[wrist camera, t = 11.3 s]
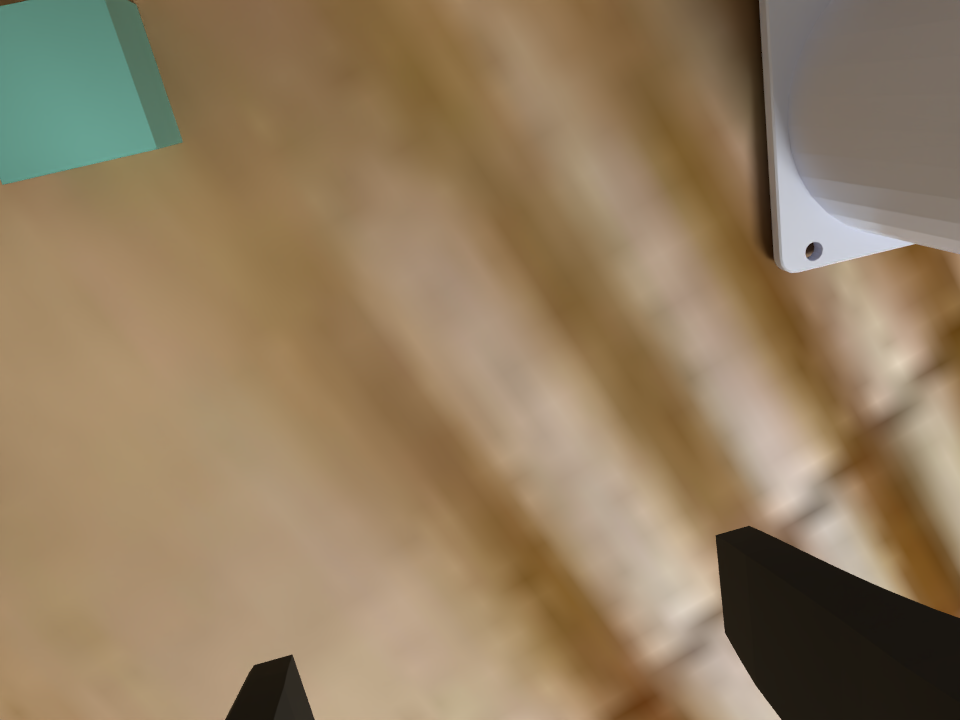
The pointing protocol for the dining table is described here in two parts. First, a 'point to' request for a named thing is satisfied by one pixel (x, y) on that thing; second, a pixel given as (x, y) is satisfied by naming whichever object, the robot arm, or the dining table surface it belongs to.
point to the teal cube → (77, 87)
